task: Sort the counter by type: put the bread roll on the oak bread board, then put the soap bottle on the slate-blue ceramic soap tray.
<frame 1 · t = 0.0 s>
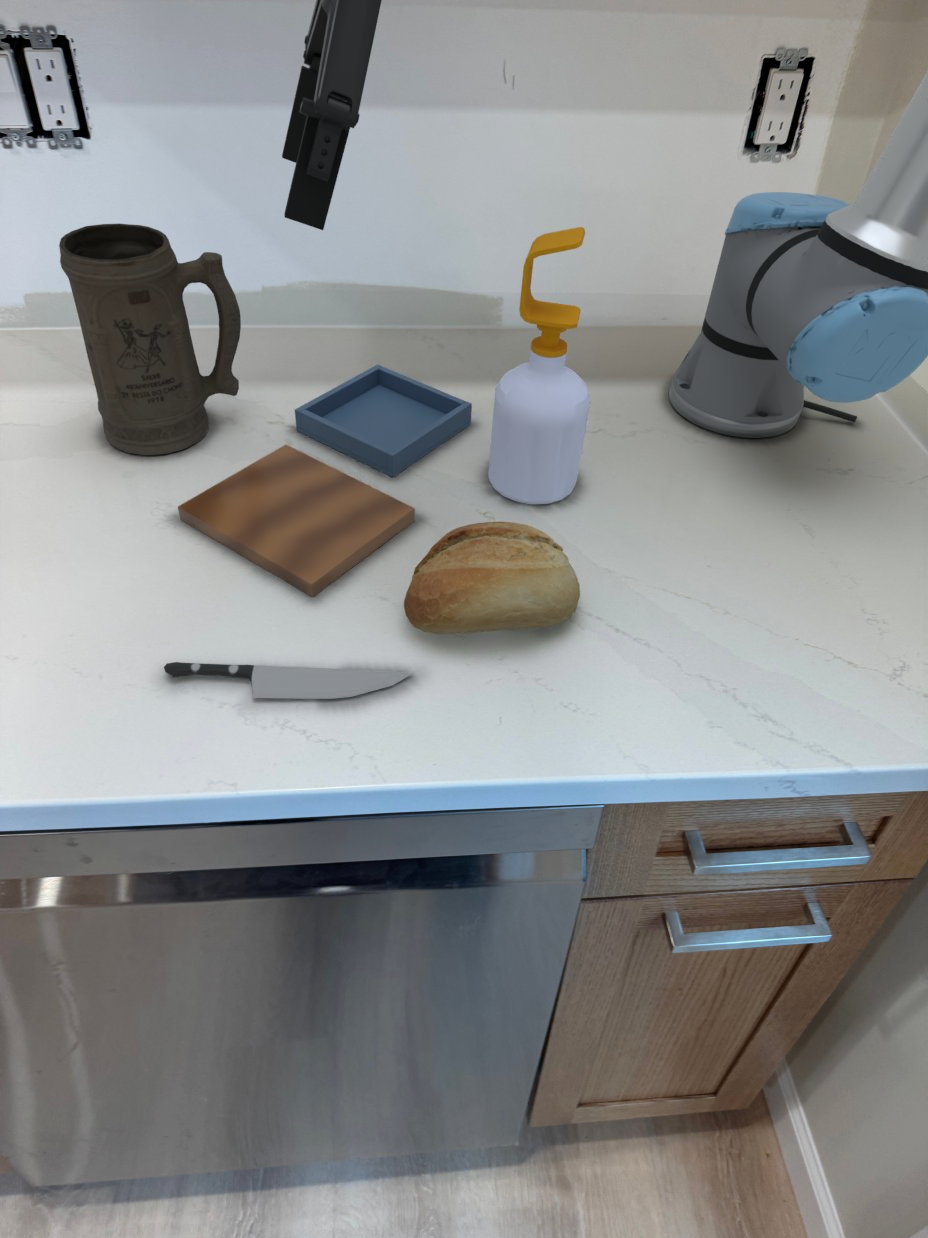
hand: (300, 190, 62), 28 cm above the counter, tool tilted 20°, fingers open, 13 cm apart
chef's knife: (288, 687, 63), on the counter
bread board: (298, 520, 78), on the counter
soap tray: (385, 427, 90), on the counter
soap bottle: (531, 482, 85), on the counter
beer stein: (181, 426, 89), on the counter
bread roll: (489, 615, 70), on the counter
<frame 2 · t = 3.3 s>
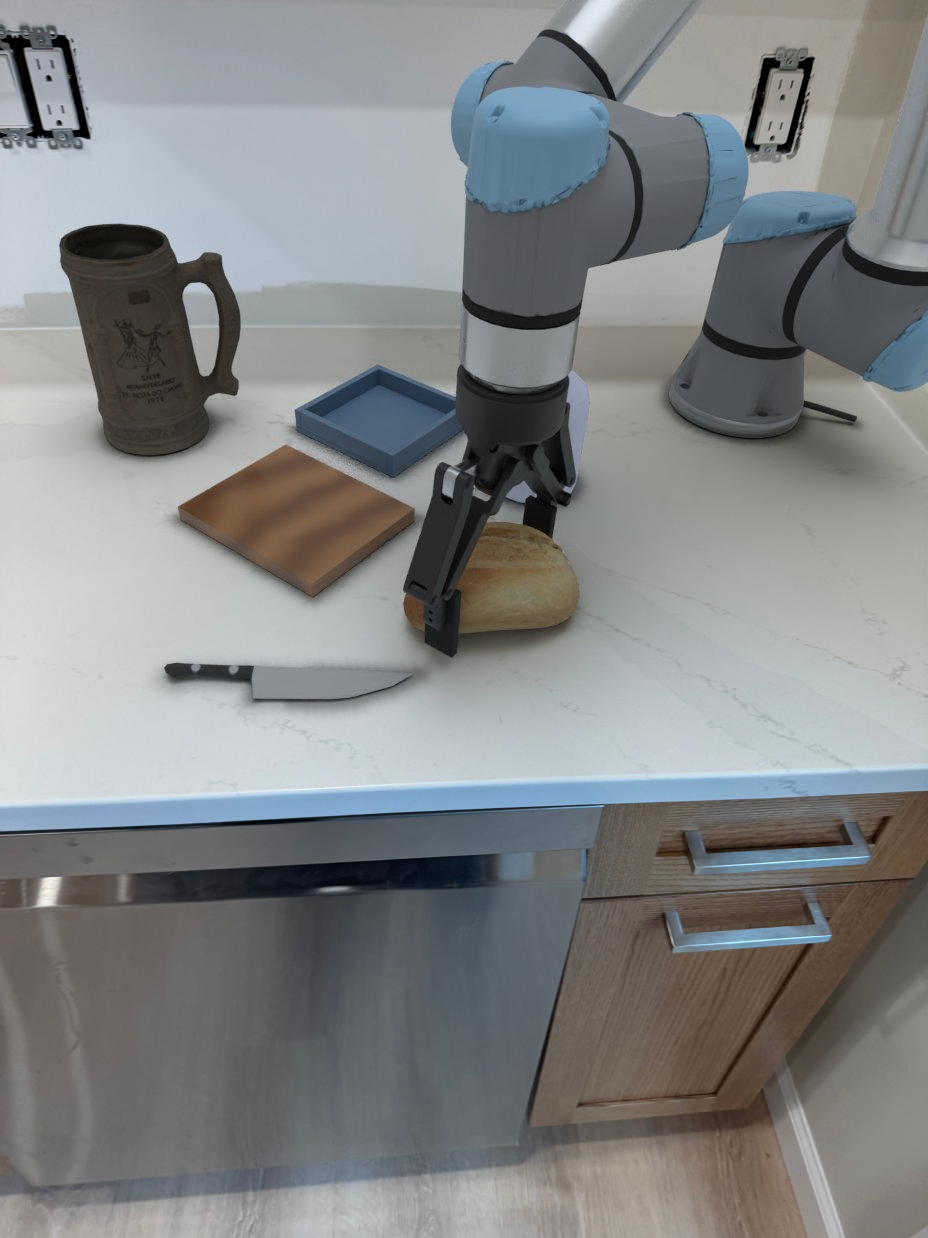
hand: (489, 602, 69), 1 cm above the counter, tool pointing down, fingers closed on bread roll, 13 cm apart
bread roll: (489, 615, 70), on the counter, touching gripper
everything else where it was.
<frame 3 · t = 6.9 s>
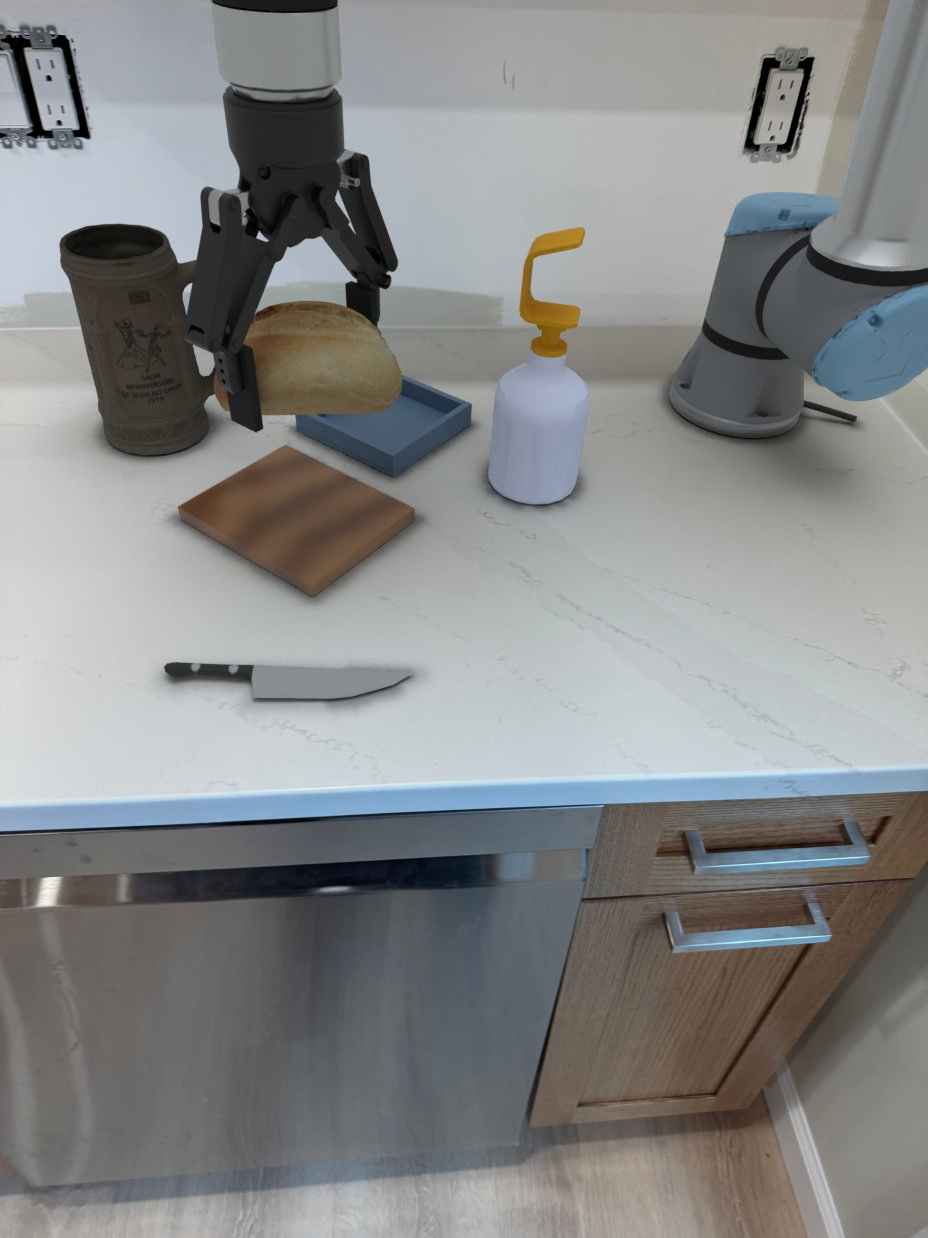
hand: (309, 391, 67), 14 cm above the counter, tool pointing down, fingers closed on bread roll, 13 cm apart
bread roll: (312, 408, 68), point 13 cm above the counter, touching gripper
everything else where it was.
when the fingers open (3 cm above the counter, at t = 10.5 s): bread roll stays where it is, resting on bread board.
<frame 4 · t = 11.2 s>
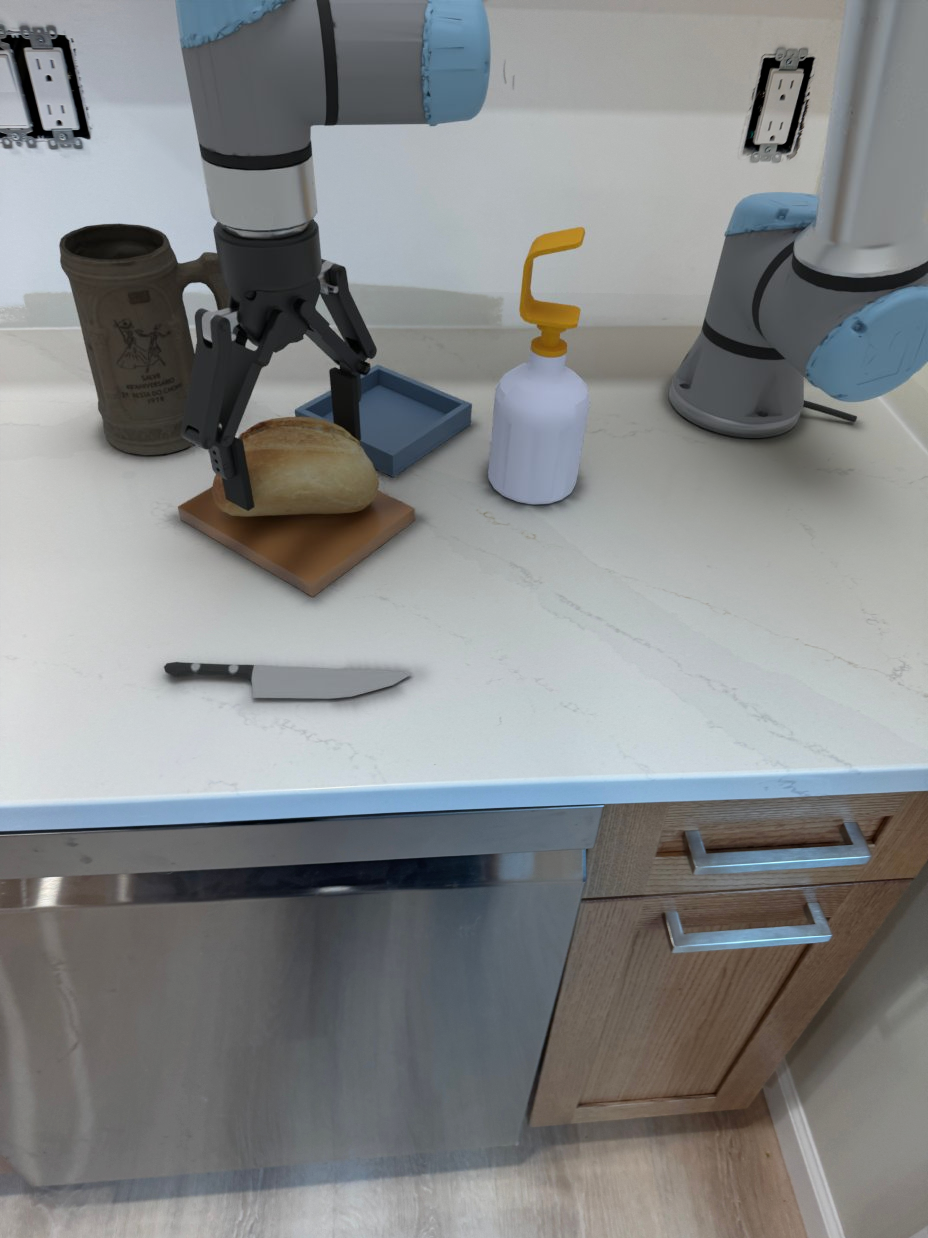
hand: (297, 468, 74), 6 cm above the counter, tool pointing down, fingers open, 13 cm apart
bread roll: (299, 507, 77), point 1 cm above the counter, touching bread board
everything else where it was.
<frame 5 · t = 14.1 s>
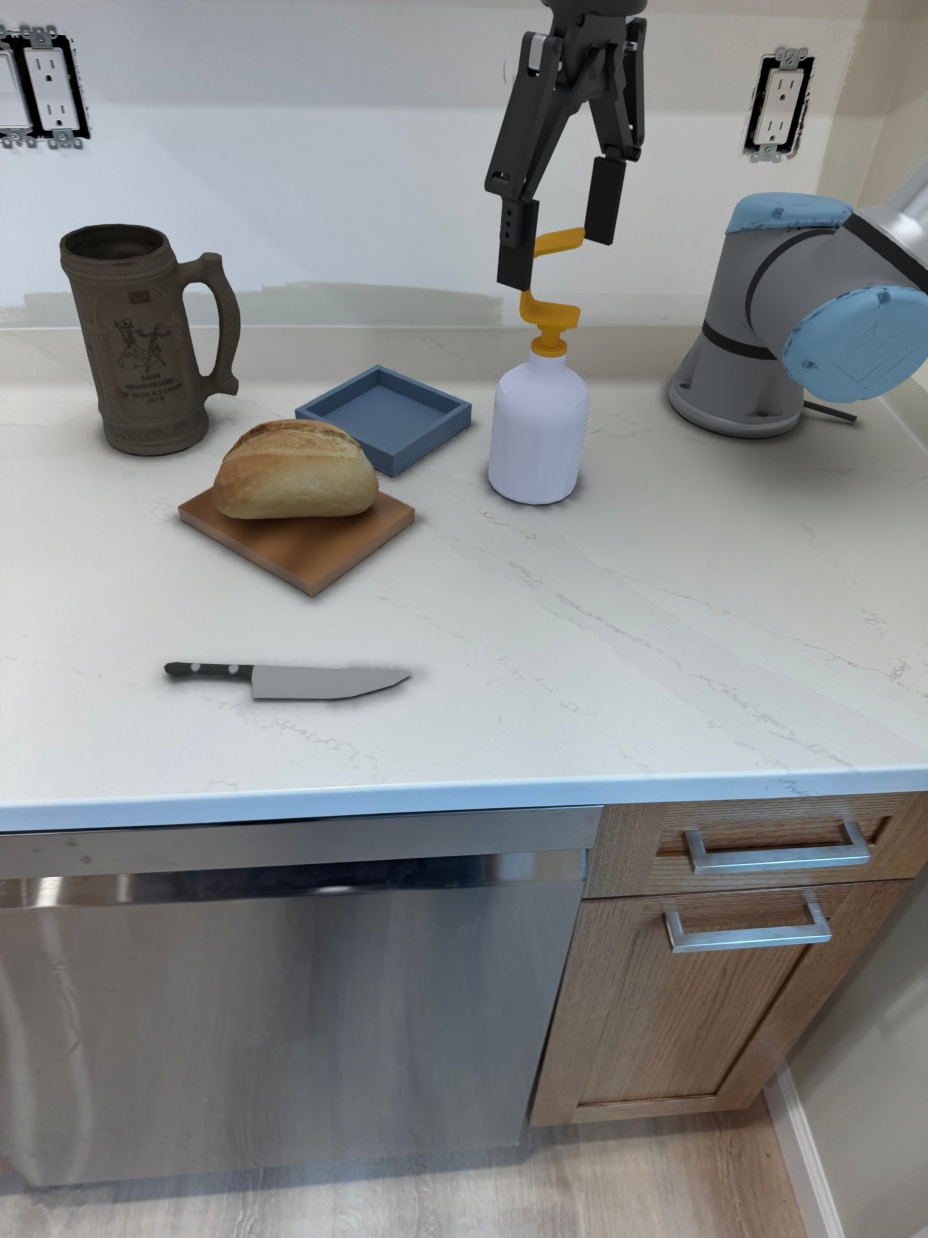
hand: (557, 262, 69), 22 cm above the counter, tool pointing down, fingers open, 13 cm apart
nothing on the counter moved.
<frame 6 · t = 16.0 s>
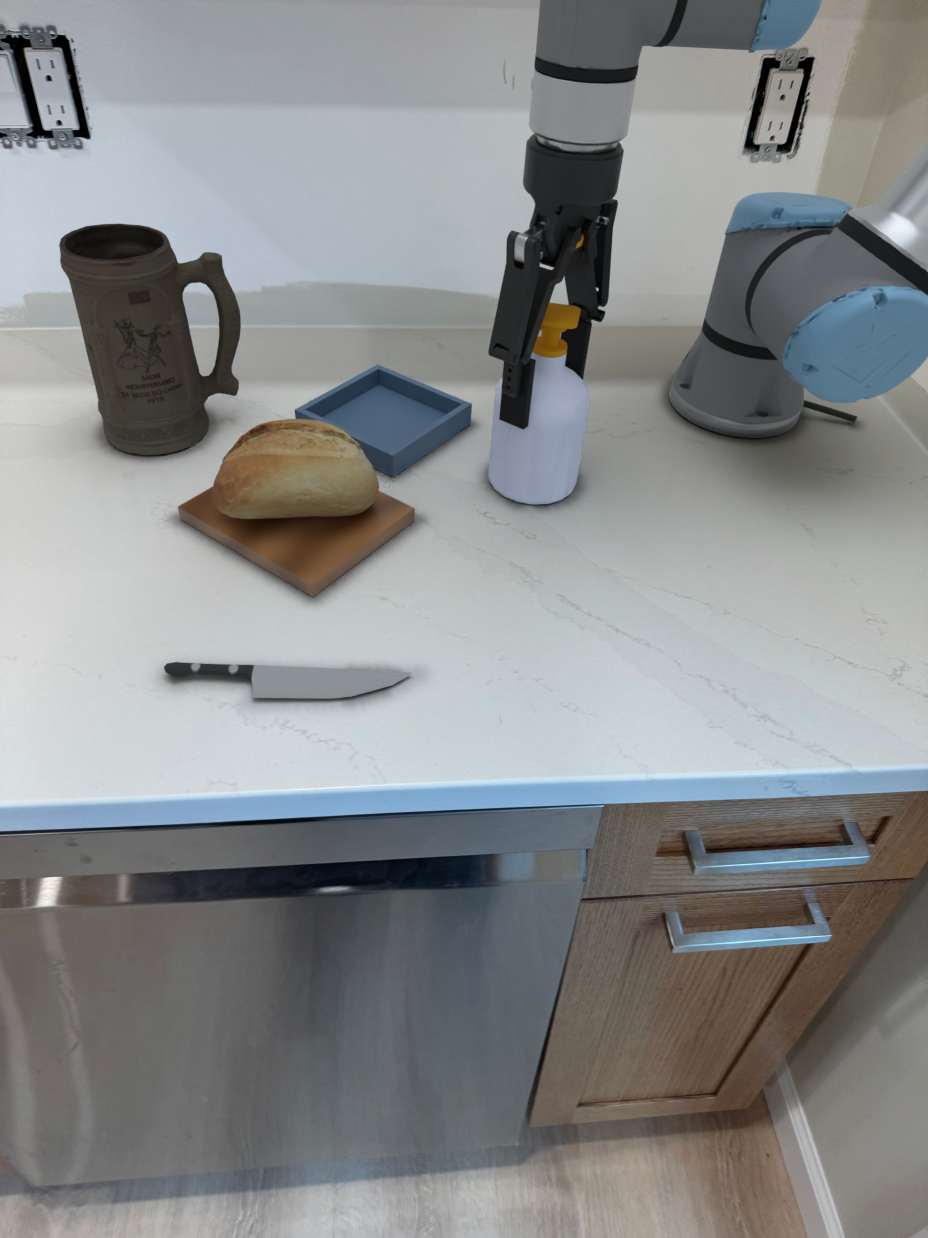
hand: (541, 402, 78), 9 cm above the counter, tool pointing down, fingers closed on soap bottle, 9 cm apart
soap bottle: (531, 482, 85), on the counter, touching gripper
everything else where it was.
when the fingers open (10 cm above the counter, at t = 22.5 s): soap bottle stays where it is, resting on soap tray.
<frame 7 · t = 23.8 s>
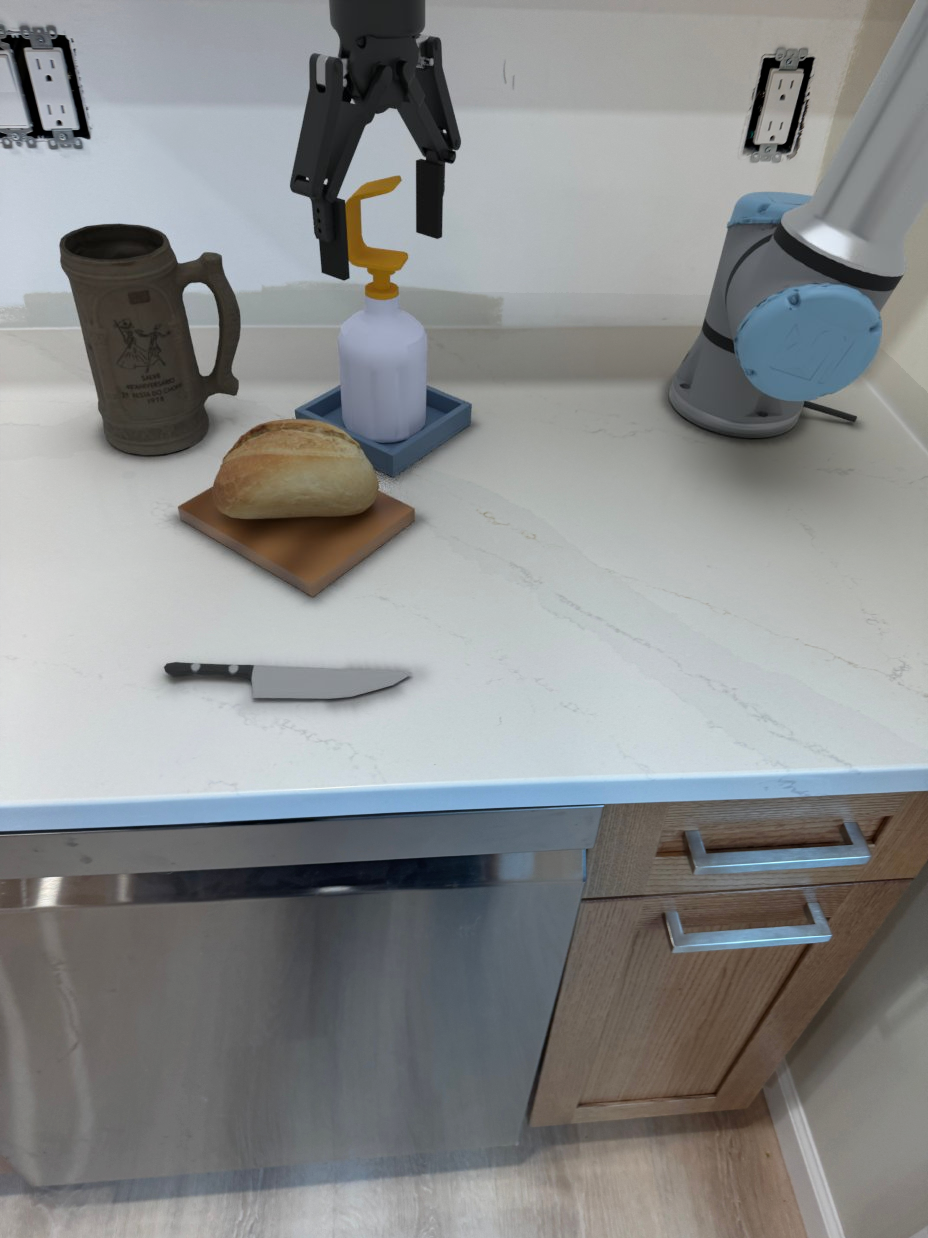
hand: (384, 254, 77), 19 cm above the counter, tool pointing down, fingers open, 13 cm apart
soap bottle: (384, 424, 90), resting on soap tray
everything else where it was.
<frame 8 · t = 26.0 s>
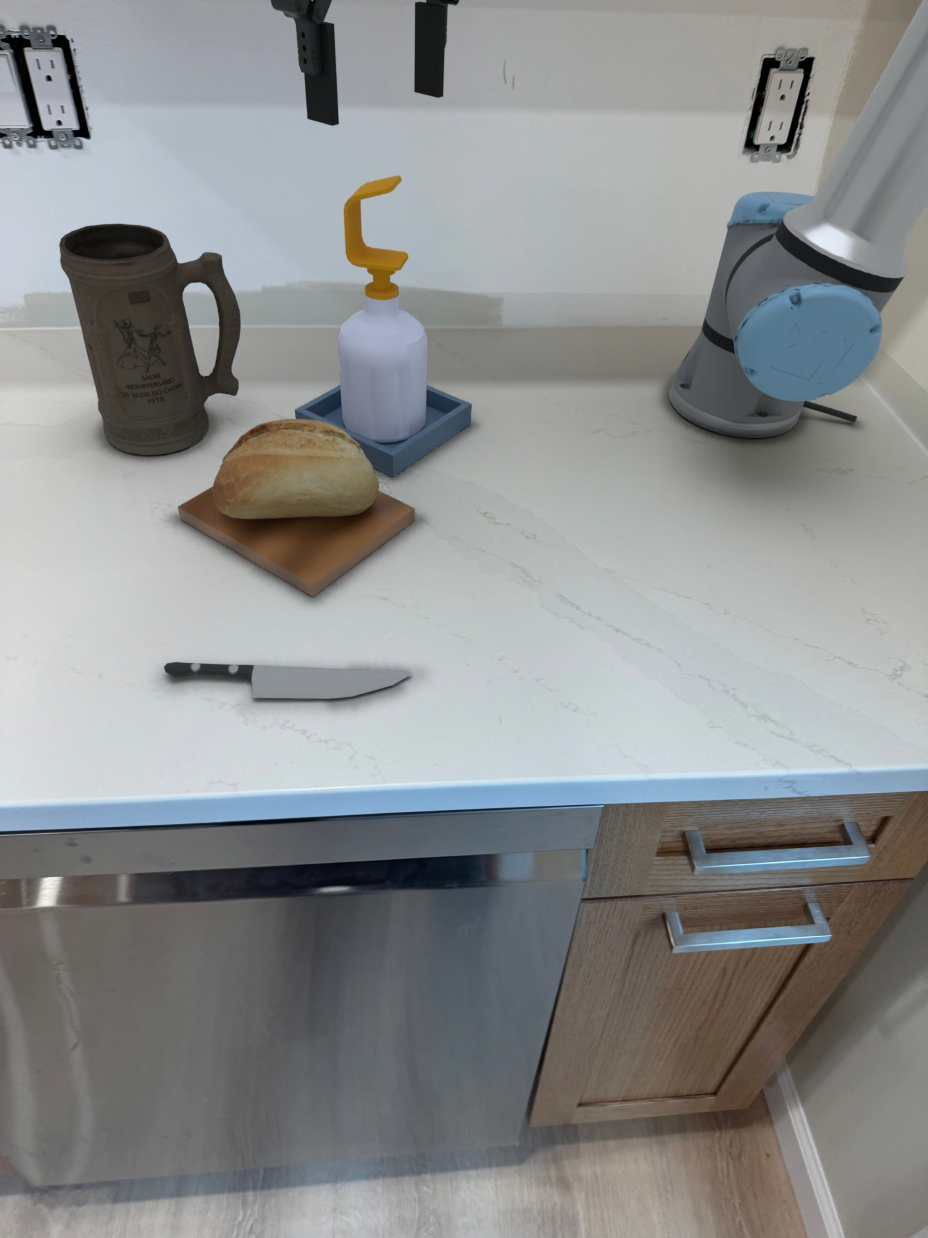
hand: (379, 107, 69), 31 cm above the counter, tool pointing down, fingers open, 13 cm apart
nothing on the counter moved.
at the end: bread roll inside the target area on the bread board (0.2 cm from its centre), point 1.3 cm above the bread board's base; soap bottle inside the target area in the soap tray (0.0 cm from its centre), point 0.4 cm above the soap tray's base; soap bottle tilted 0° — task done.
